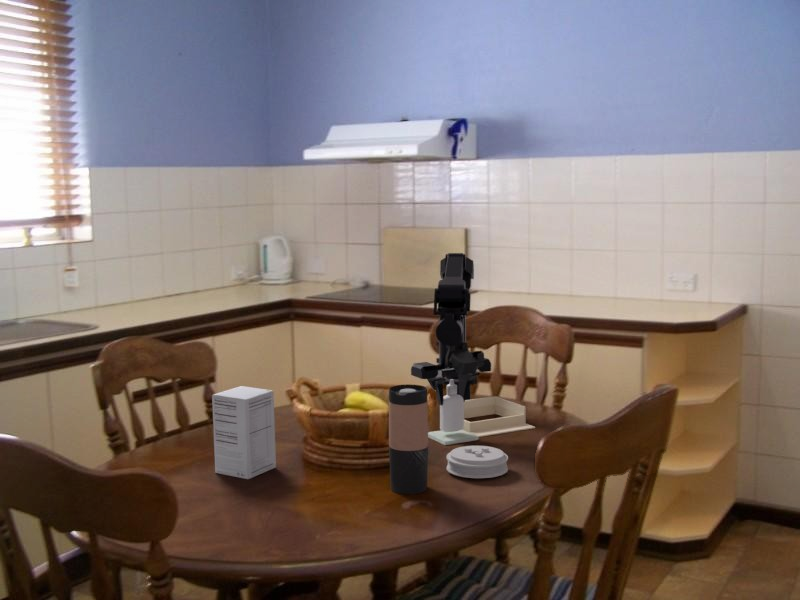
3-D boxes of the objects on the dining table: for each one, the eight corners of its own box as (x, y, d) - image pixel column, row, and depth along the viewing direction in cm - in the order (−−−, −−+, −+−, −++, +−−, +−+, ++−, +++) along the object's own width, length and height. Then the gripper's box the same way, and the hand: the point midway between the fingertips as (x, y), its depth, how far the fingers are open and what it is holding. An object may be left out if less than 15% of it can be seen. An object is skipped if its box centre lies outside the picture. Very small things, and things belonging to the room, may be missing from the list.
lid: (470, 486, 188) (470, 462, 187) (434, 470, 199) (434, 447, 198) (520, 475, 195) (520, 452, 194) (483, 460, 205) (483, 438, 205)
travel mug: (419, 480, 191) (418, 382, 189) (434, 491, 184) (434, 390, 182) (383, 485, 189) (382, 386, 186) (397, 496, 182) (396, 394, 179)
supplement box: (243, 461, 206) (241, 385, 203) (277, 467, 201) (275, 389, 199) (213, 473, 197) (210, 393, 195) (247, 480, 193) (245, 398, 191)
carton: (441, 421, 238) (441, 403, 238) (495, 413, 246) (495, 396, 245) (478, 437, 223) (479, 418, 223) (535, 428, 231) (535, 410, 230)
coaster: (425, 435, 224) (425, 432, 224) (458, 430, 229) (458, 427, 229) (445, 445, 217) (445, 441, 217) (478, 439, 221) (478, 436, 221)
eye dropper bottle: (439, 427, 225) (439, 377, 223) (463, 427, 225) (463, 377, 223) (440, 432, 220) (440, 381, 219) (464, 432, 220) (464, 381, 219)
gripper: (434, 346, 208) (434, 416, 210) (504, 339, 217) (504, 405, 219) (409, 339, 218) (410, 405, 220) (478, 332, 227) (478, 396, 229)
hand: (451, 403), depth 222 cm, fingers closed on eye dropper bottle, 5 cm apart
